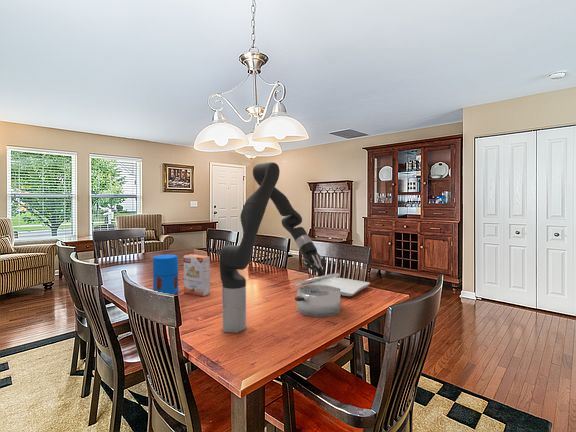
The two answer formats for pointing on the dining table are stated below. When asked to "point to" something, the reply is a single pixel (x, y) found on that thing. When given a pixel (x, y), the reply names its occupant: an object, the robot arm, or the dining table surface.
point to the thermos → (165, 274)
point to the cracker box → (197, 274)
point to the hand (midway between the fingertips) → (322, 276)
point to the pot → (318, 300)
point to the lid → (317, 279)
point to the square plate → (344, 285)
